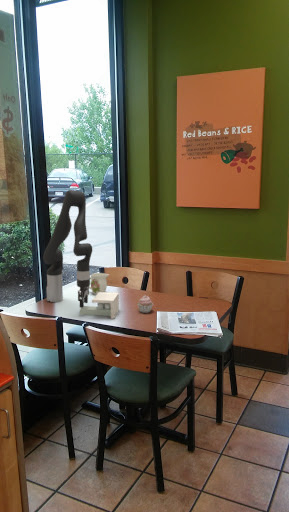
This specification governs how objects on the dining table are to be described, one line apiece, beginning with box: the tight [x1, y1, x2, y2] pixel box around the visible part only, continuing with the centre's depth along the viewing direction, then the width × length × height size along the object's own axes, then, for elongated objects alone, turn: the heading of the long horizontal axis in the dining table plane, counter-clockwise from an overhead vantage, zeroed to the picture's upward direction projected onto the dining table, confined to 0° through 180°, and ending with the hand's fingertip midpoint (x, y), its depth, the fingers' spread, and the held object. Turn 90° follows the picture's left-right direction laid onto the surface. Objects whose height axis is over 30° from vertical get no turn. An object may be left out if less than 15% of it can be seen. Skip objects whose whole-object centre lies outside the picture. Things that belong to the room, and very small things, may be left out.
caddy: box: [79, 303, 111, 317], centre depth 239 cm, size 18×6×6 cm, turn 83°
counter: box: [91, 291, 120, 320], centre depth 238 cm, size 12×16×10 cm
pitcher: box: [89, 272, 110, 296], centre depth 279 cm, size 11×18×14 cm, turn 68°
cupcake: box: [137, 295, 154, 314], centre depth 242 cm, size 9×9×10 cm
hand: (83, 305), depth 239 cm, fingers open, 8 cm apart
